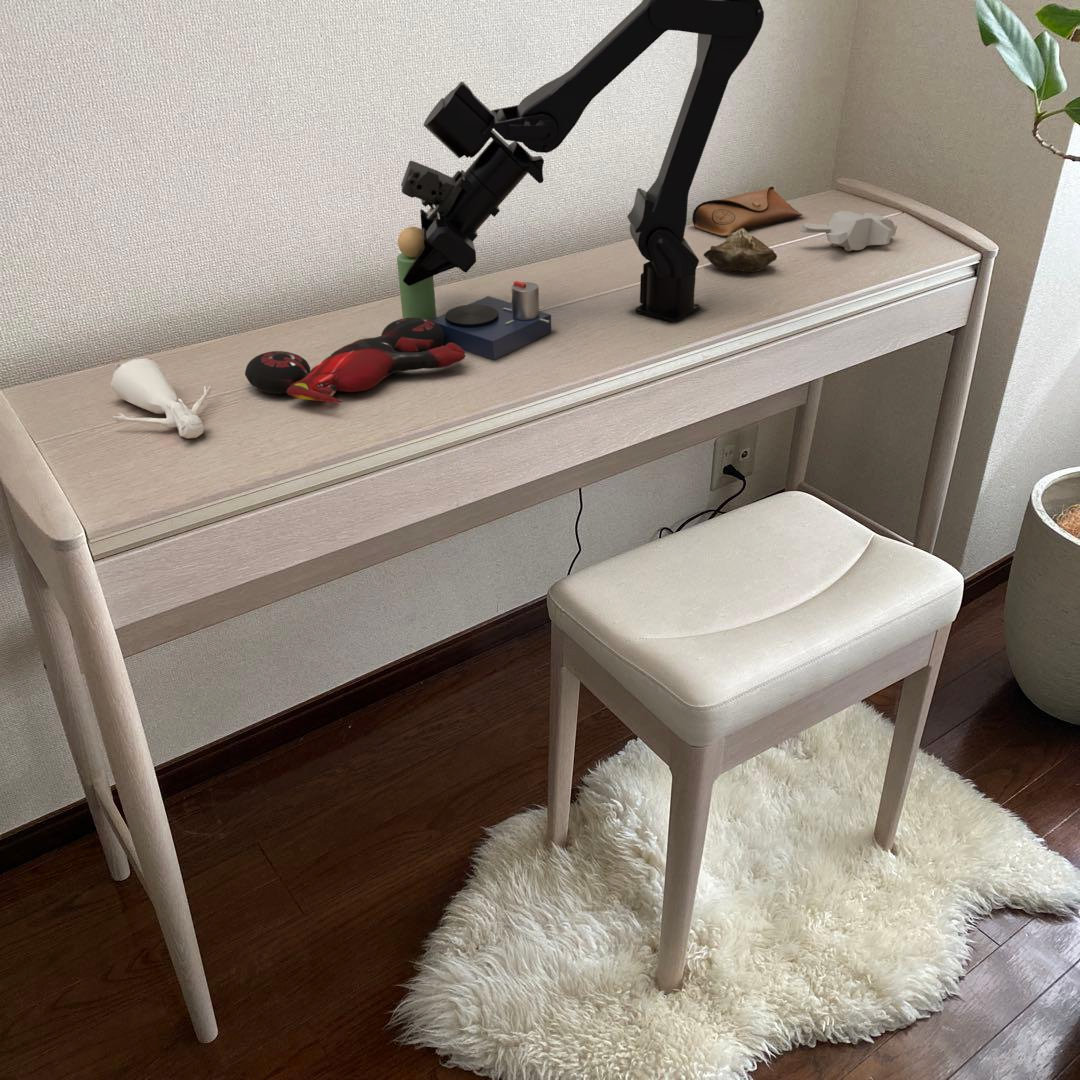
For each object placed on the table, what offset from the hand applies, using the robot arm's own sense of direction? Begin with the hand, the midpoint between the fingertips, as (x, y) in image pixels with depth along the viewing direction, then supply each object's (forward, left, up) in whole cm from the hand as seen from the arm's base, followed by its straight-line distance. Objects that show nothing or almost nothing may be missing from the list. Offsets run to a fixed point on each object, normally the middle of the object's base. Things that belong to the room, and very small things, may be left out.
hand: (405, 276), depth 136 cm
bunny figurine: (-31, -64, -7) cm, 71 cm away
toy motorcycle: (-8, +15, -7) cm, 18 cm away
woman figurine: (+3, +35, -7) cm, 36 cm away
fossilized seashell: (-23, -45, -7) cm, 51 cm away
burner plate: (-9, -3, -4) cm, 10 cm away
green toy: (-1, -1, -7) cm, 7 cm away
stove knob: (-14, -7, -4) cm, 16 cm away
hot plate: (-11, -5, -7) cm, 14 cm away
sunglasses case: (-12, -66, -7) cm, 67 cm away
